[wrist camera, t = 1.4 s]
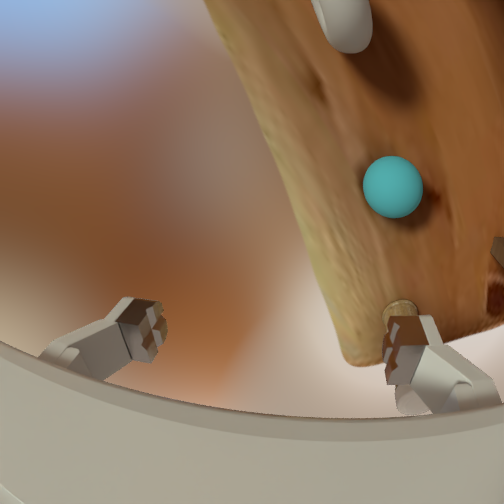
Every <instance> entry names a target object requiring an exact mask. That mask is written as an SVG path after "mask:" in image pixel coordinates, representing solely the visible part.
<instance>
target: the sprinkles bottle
mask: <svg viewBox="0 0 504 504" xmlns="http://www.w3.org/2000/svg"><path fill="white" fill-rule="evenodd" d="M417 315H418V313H417V308H416V306H415V305H414V304H413V303H412V302H411V301H409V300H398V301H394V302H393V303H391V304H390V305H388V306H387V307H386V309H385V310H384V312H383V315H382V320H383V323H384V325H385V330H386V333H387V332H389V331H388V327H387V323H388V320H389V317H390V316H417ZM395 399H396V406H397V409H398V411H400V412H401V413H403V414H406V415H417V414H421V413H424V412H427V411H429V410H430V409H429V408H428V407H427V406H426V404H425V403H424V402H423V401H422V400H421V398H420V397H419V396H418V395H417V394H416V393H415V391H414V390H413V389H412V388H411V387H410V385H396V388H395Z"/></svg>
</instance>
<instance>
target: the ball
mask: <svg viewBox="0 0 504 504" xmlns="http://www.w3.org/2000/svg"><path fill="white" fill-rule="evenodd" d="M363 190H364V194H365V198H366V200H367V202H368V203H369V205H370V206H371V207H372V209H373V210H375V211H376V212H377V213H379V214H380V215H382V216H385V217H388V218H401V217H404V216H407V215H408V214H410V213H411V212H413V211H414V210H415V209H416V207H417V206H418V205H419V203H420V201H421V198H422V194H423V183H422V179H421V176H420V174H419V172H418V170H417V169H416V168H415V167H414V165H413V164H411V163H410V162H409V161H407V160H406V159H403V158H401V157H397V156H386V157H382V158H380V159H378V160H376V161H375V162H374V163H373V164H372V165H371V166H370V167H369V168H368V170H367V172H366V174H365V177H364V182H363Z"/></svg>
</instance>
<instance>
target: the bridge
mask: <svg viewBox="0 0 504 504" xmlns="http://www.w3.org/2000/svg"><path fill="white" fill-rule="evenodd" d="M490 253H491V254H492V255H493V256H494V257H495V259H496V260H497V261H498V262H499V263H500V264H501V266H502V267H503V268H504V238H502V237H494V241H493V245H492V248H491V252H490Z"/></svg>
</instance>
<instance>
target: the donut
mask: <svg viewBox="0 0 504 504" xmlns="http://www.w3.org/2000/svg"><path fill="white" fill-rule="evenodd" d="M311 2H312V4H313V7H314V10H315V12H316V15H317V18H318V20H319V23H320V25H321V28H322V30H323V32H324V34H325V36H326V38H327V40H328V42H329V43H330V44H331V45H332V46H333V48H335V49H336V50H338V51H340V52H344V53H358V52H361V51H363V50H364V49H365V48H367V46H368V44H369V43H370V40H371V37H372V31H373V22H372V15H371V8H370V4H369V0H311Z"/></svg>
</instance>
